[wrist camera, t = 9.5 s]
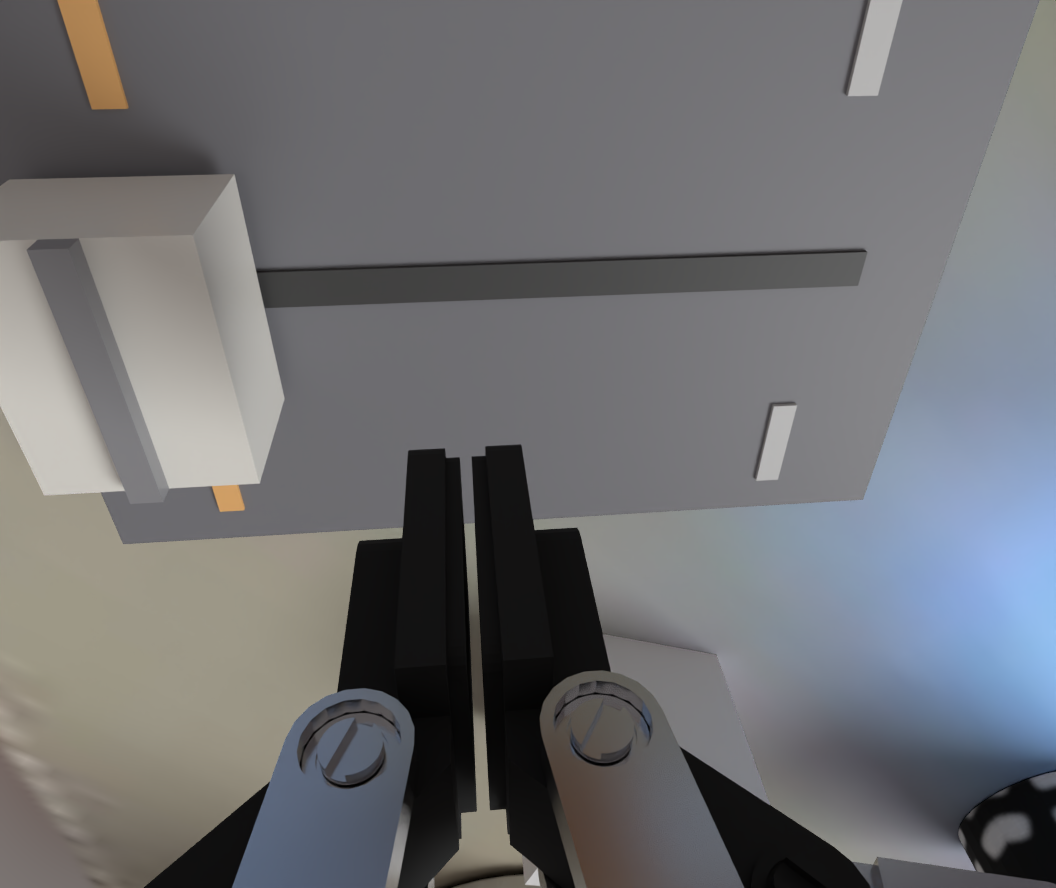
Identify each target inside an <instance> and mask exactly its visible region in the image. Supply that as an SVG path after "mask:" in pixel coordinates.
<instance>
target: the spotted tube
mask: <svg viewBox="0 0 1056 888" xmlns="http://www.w3.org/2000/svg"><path fill="white" fill-rule="evenodd" d="M958 835H959V839H960V842H961V843H962V845H963V847H964V849H965V851H966V853H967V855H968V856H969V858H970V860H971V862H972V864H973V866H974V868H975V869H976V871H977V872H984V873H991V874H997V875H1004V876H1011V877H1018V878H1025V879H1032V880H1038V881H1045V882H1050V883H1054V884H1056V772H1051V773H1047V774H1043V775H1040V776H1037V777H1033V778H1030V779H1027V780H1025V781H1022V782H1019V783H1017V784H1014V785H1012V786H1010V787H1008V788H1006V789H1004V790H1002V791H1000V792H998V793H996V794H994V795H993V796H991V797H990V798H988V799H986V800H985V801H983V802H982V803H981V804H979V805H978V806H977V807H976V808H974V809H973V810H972V811H971V812H970V813H969V814H968V815H967V816H966V818H965V819H964V820H963V822H962V824H961V825H960V828H959V833H958Z"/></svg>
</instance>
